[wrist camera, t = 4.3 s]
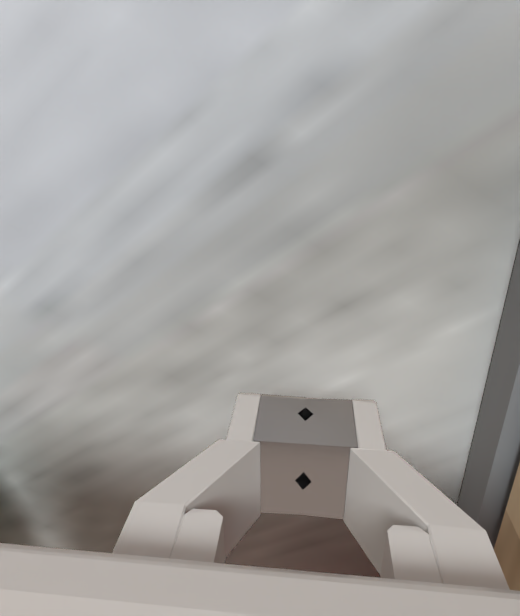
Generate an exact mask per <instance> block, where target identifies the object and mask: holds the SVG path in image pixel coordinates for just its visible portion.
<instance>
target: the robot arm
mask: <svg viewBox="0 0 520 616" xmlns="http://www.w3.org/2000/svg"><path fill="white" fill-rule="evenodd" d="M261 513H277V514H296V515H308V516H317V517H326V518H335V519H344V523H345V524H346V526H347V527H348V529H349V530H350V532H351V533H352V535H353V536H354V538H355V539H356V541H357V542H358V543H359V545H360V546H361V548H362V549H363V551H364V552H365V554H366V555H367V557H368V558H369V560H370V561H371V563H372V564H373V566H374V567H375V568H376V570H377V571H378V573H379V574H380V578H378V577H368V576H357V575H346V574H335V573H324V572H313V571H302V570H291V569H280V568H269V567H258V566H247V565H236V564H225V558H226V557H227V556H228V555H229V553H230V552H231V551H232V550H233V548H234V547H235V546H236V545H237V544H238V542H239V541H240V540H241V539H242V537H243V536H244V535H245V534H246V532H247V531H248V530H249V529H250V528H251V526H252V525H253V524H254V523H255V521H256V520H257V519H258V518H259V517H260V515H261ZM0 616H520V591H516V590H510V589H509V586H508V584H507V581H506V579H505V576H504V574H503V572H502V569H501V567H500V564H499V562H498V559H497V557H496V554H495V552H494V549H493V547H492V544H491V542H490V539H489V537H488V535H487V532H486V530H484V529H483V528H482V527H481V526H480V525H479V524H478V523H476V522H475V521H474V520H473V519H472V518H471V517H470V516H468V515H467V514H466V513H465V512H464V511H463V510H461V509H460V508H459V507H458V506H457V505H456V504H455V503H453V502H452V501H451V500H450V499H449V498H448V497H447V496H445V495H444V494H443V493H442V492H441V491H440V490H438V489H437V488H436V487H435V486H434V485H433V484H432V483H430V482H429V481H428V480H427V479H426V478H425V477H424V476H422V475H421V474H420V473H419V472H418V471H417V470H415V469H414V468H413V467H412V466H411V465H410V464H409V463H407V462H406V461H405V460H404V459H403V458H402V457H401V456H399V455H398V454H397V453H396V452H395V451H390V450H387V448H386V444H385V439H384V435H383V430H382V426H381V421H380V417H379V412H378V408H377V403H376V402H375V401H374V400H356V399H351V400H342V399H318V398H306V397H294V396H281V395H268V394H262V395H261V394H253V393H239V394H238V395H237V397H236V401H235V405H234V409H233V413H232V417H231V421H230V425H229V429H228V432H227V436H226V440H224V439H219V440H217V441H216V442H215V443H213V444H212V445H211V446H209V447H208V448H207V449H205V450H204V451H203V452H201V453H200V454H199V455H197V456H196V457H194V458H193V459H192V460H190V461H189V462H188V463H186V464H185V465H184V466H182V467H181V468H180V469H178V470H177V471H176V472H174V473H173V474H172V475H170V476H169V477H167V478H166V479H165V480H163V481H162V482H161V483H159V484H158V485H157V486H155V487H154V488H153V489H151V490H150V491H149V492H147V493H146V494H145V495H143V496H142V497H140V498H139V499H138V500H136V501H135V502H134V505H133V507H132V509H131V511H130V514H129V516H128V518H127V520H126V523H125V525H124V527H123V529H122V531H121V534H120V536H119V538H118V540H117V543H116V545H115V547H114V549H113V551H112V553H105V552H94V551H83V550H73V549H62V548H51V547H40V546H29V545H18V544H7V543H0Z"/></svg>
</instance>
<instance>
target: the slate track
mask: <svg viewBox="0 0 520 616" xmlns="http://www.w3.org/2000/svg"><path fill="white" fill-rule="evenodd" d="M519 463H520V242H519V247H518V251H517V255H516V259H515V264H514V268H513V272H512V276H511V281H510V285H509V289H508V293H507V297H506V302H505V306H504V310H503V314H502V319H501V323H500V327H499V331H498V336H497V340H496V344H495V348H494V352H493V357H492V361H491V365H490V369H489V374H488V378H487V382H486V386H485V391H484V395H483V399H482V403H481V407H480V412H479V416H478V420H477V424H476V429H475V433H474V437H473V441H472V446H471V450H470V454H469V458H468V462H467V467H466V471H465V475H464V479H463V484H462V488H461V492H460V496H459V501H458V505H457V506H458V507H459V508H460V509H461V510H463V511H464V512H465V513H466V514H467V515H468V516H470V517H471V518H472V519H473V520H474V521H475V522H476V523H478V524H479V525H480V526H481V527H482V528H483V529H484V530H486V532H487V535H488V537H489V539H490V542H491V544H492V547H493V549H494V547H495V543H496V540H497V537H498V533H499V530H500V527H501V523H502V520H503V516H504V513H505V510H506V506H507V503H508V500H509V496H510V493H511V490H512V486H513V483H514V479H515V476H516V473H517V469H518V466H519Z"/></svg>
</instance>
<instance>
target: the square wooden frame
mask: <svg viewBox="0 0 520 616" xmlns="http://www.w3.org/2000/svg"><path fill="white" fill-rule="evenodd" d="M494 552H495V554H496V557H497V559H498V562H499V564H500V567H501V569H502V572H503V574H504V576H505V579H506V581H507V584H508V586H509V589H510V590H516V591H520V463H519V466H518V469H517V473H516V476H515V479H514V483H513V486H512V490H511V493H510V496H509V500H508V503H507V506H506V510H505V513H504V516H503V520H502V523H501V527H500V530H499V533H498V537H497V540H496V543H495V547H494Z"/></svg>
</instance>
